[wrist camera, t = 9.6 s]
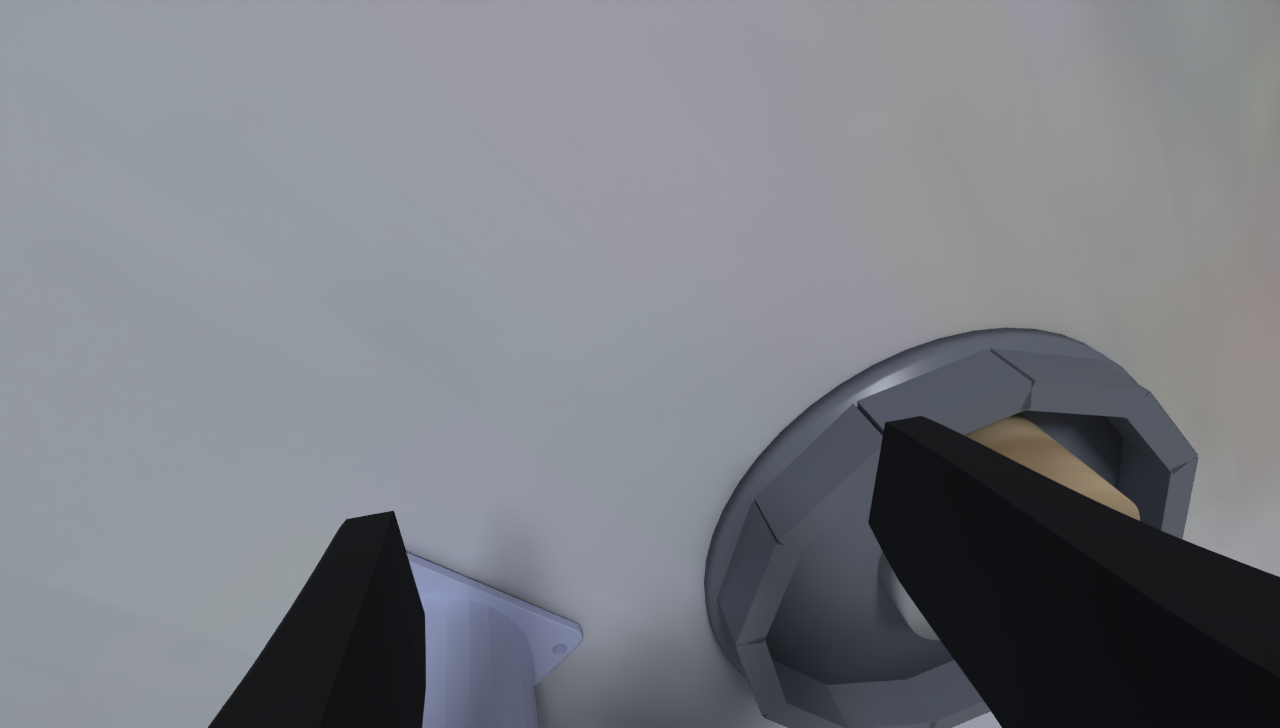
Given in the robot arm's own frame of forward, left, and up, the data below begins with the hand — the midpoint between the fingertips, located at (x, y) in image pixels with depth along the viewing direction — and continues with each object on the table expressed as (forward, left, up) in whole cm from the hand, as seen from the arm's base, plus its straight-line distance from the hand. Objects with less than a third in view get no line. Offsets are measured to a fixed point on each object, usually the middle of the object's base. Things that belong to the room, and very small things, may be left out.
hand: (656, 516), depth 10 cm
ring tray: (0, -18, -9) cm, 20 cm away
